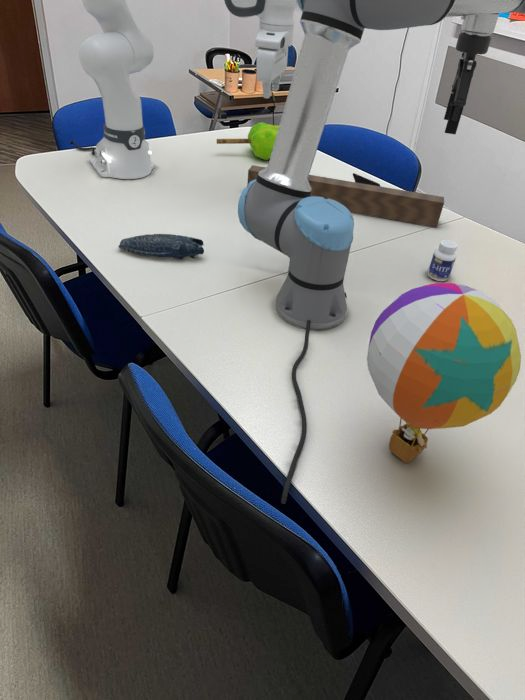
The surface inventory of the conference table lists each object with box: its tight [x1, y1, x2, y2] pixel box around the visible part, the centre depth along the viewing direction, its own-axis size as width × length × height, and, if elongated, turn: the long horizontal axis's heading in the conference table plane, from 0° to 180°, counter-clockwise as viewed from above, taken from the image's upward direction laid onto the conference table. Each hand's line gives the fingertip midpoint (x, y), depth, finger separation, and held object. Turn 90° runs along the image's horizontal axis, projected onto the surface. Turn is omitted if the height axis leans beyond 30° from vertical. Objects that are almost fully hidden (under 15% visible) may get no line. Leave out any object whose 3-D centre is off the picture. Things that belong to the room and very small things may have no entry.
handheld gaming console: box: [352, 172, 381, 186], centre depth 167 cm, size 12×7×10 cm
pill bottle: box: [427, 239, 458, 282], centre depth 126 cm, size 5×5×9 cm
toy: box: [366, 282, 522, 464], centre depth 73 cm, size 20×20×30 cm
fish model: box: [118, 233, 205, 260], centre depth 125 cm, size 7×21×5 cm, turn 84°
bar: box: [246, 164, 445, 228], centre depth 155 cm, size 58×5×8 cm, turn 75°
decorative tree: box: [216, 121, 280, 161], centre depth 186 cm, size 18×10×30 cm
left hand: (270, 94), depth 143 cm, fingers open, 8 cm apart
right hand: (449, 126), depth 137 cm, fingers open, 13 cm apart
